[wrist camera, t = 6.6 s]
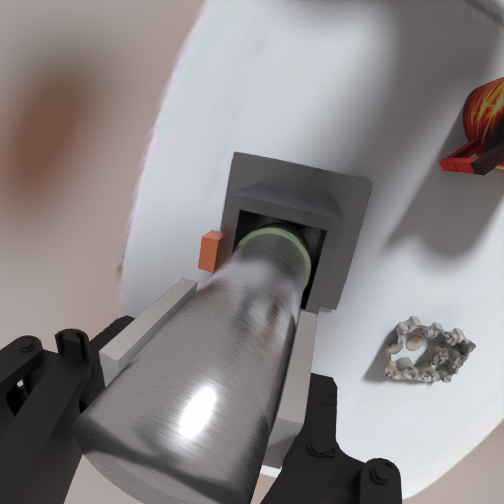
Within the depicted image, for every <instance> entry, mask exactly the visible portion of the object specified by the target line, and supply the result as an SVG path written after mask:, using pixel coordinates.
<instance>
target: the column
mask: <svg viewBox="0 0 504 504" xmlns="http://www.w3.org/2000/svg"><path fill="white" fill-rule="evenodd" d="M310 270H311V256H310V252H309V247H308V243H307V241H306V239H305V237H304V236H303V235H302V233H301V232H300V231H299V230H297V229H296V228H295V227H293V226H291V225H289V224H286V223H280V222H274V223H269V224H266V225H263V226H262V227H259V228H257V229H255V230H253V231H251V232H250V233H249V234H248V235H246V236H245V237H244V238H243V239H242V240H241V241H240V242H239V244H238V245H237V246H236V248H235V250H234V253H233V255H232V256H231V257H230V258H229V259H228V260H227V261H226V262H225V263H224V264H223V265H222V266H221V267H220V268H219V269H218V270H217V271H216V272H215V273H214V274H213V275H212V276H211V277H210V278H209V279H208V281H207V282H206V283H205V284H204V285H203V286H202V287H201V288H200V289H199V290H198V291H197V292H196V293H195V294H194V295H193V296H192V297H191V298H190V299H189V300H188V301H187V302H186V303H185V304H184V305H183V306H182V308H181V309H180V310H179V311H178V312H177V313H176V314H175V315H174V316H173V317H172V318H171V319H170V320H169V321H168V322H167V323H166V324H165V325H164V326H163V327H162V328H161V329H160V331H159V332H158V333H157V334H156V335H155V336H154V337H153V338H152V339H151V340H150V341H149V342H148V343H147V344H146V345H145V346H144V347H143V348H142V349H141V350H140V352H139V353H138V354H137V355H136V356H135V357H134V358H133V359H132V360H131V361H130V362H129V363H128V364H127V365H126V366H125V367H124V368H123V370H122V371H121V372H120V373H119V374H118V375H117V376H116V377H115V378H114V379H113V380H112V381H111V382H110V383H109V384H108V386H107V387H106V388H105V389H104V390H103V391H102V392H101V393H100V394H99V395H98V396H97V397H96V398H95V399H94V401H93V402H92V403H91V404H90V405H89V406H88V407H87V408H86V409H85V410H84V411H83V412H82V413H81V414H80V416H79V417H78V418H77V419H76V420H75V421H74V423H73V435H74V438H75V440H76V442H77V444H78V446H79V448H80V449H81V451H82V453H83V454H84V455H85V457H86V458H87V459H88V460H89V461H90V463H91V464H92V465H93V466H94V467H95V468H96V469H97V470H98V471H99V472H100V473H101V474H102V475H103V476H104V477H106V478H107V479H108V480H109V481H110V482H112V483H113V484H114V485H116V486H117V487H118V488H120V489H121V490H123V491H124V492H126V493H127V494H129V495H130V496H132V497H134V498H135V499H137V500H139V501H140V502H142V503H145V504H250V503H251V500H252V497H253V493H254V490H255V486H256V484H257V480H258V477H259V473H260V470H261V467H262V463H263V460H264V456H265V452H266V449H267V445H268V441H269V438H270V433H271V429H272V426H273V422H274V418H275V414H276V410H277V406H278V402H279V398H280V394H281V390H282V386H283V382H284V378H285V373H286V369H287V365H288V360H289V356H290V351H291V347H292V342H293V338H294V333H295V328H296V324H297V319H298V314H299V309H300V304H301V299H302V294H303V290H304V289H305V287H306V285H307V283H308V280H309V276H310Z"/></svg>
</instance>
